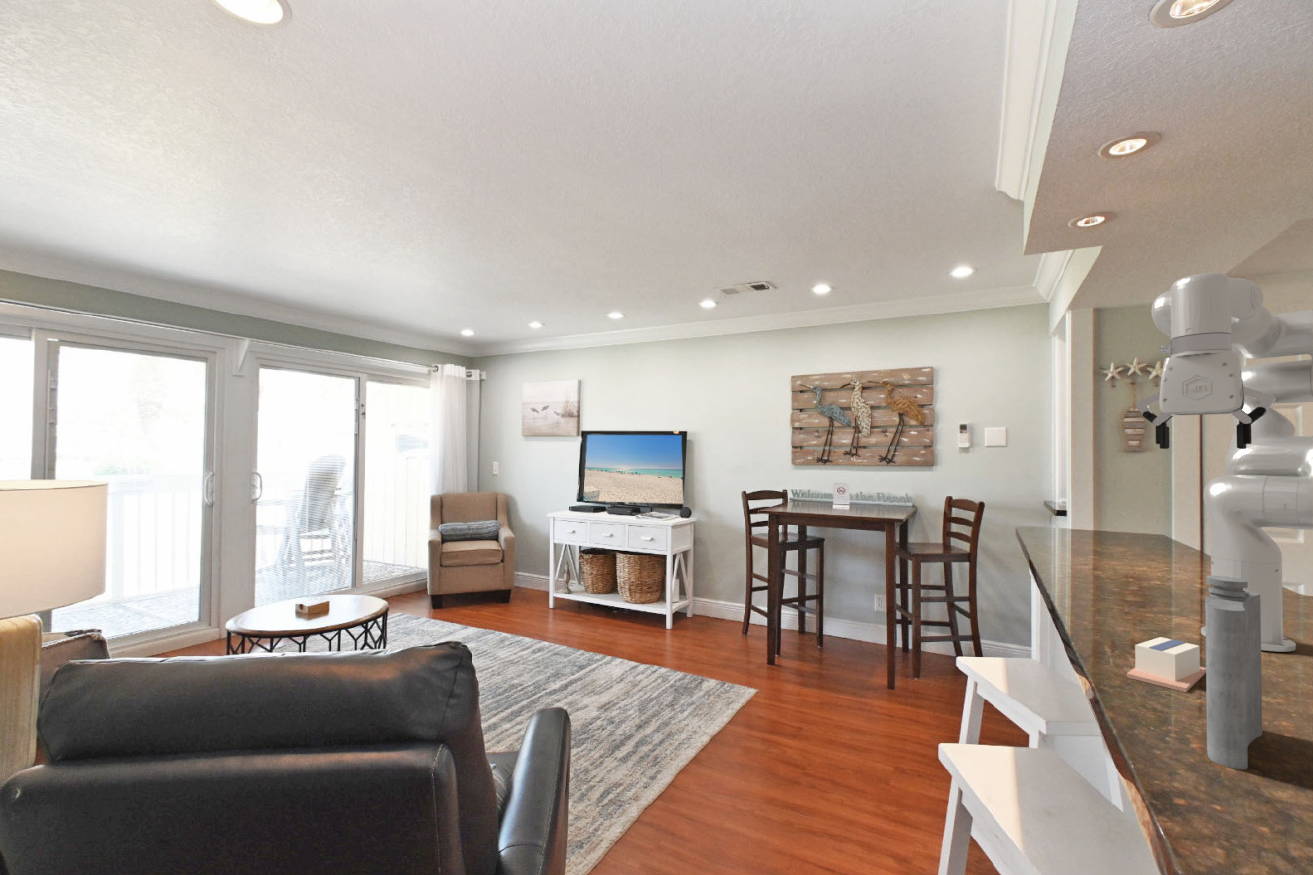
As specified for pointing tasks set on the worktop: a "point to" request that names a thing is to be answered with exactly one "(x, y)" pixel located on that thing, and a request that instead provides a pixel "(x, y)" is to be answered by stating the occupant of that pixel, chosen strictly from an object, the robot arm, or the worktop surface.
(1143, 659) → the card box
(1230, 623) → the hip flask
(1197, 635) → the worktop surface
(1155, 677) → the mat
